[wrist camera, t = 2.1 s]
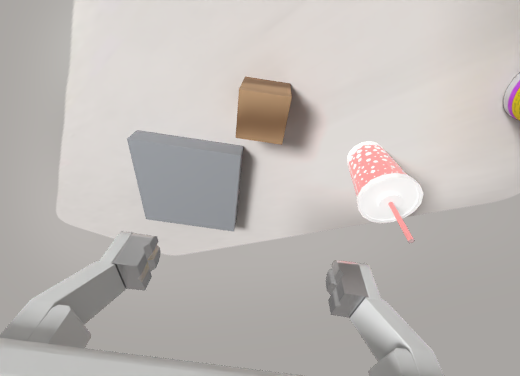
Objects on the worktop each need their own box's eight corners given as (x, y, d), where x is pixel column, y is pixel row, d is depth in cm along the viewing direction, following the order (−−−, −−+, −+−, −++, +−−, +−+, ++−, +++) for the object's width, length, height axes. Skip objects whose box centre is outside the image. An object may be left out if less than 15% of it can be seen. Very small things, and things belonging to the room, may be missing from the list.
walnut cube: (245, 76, 26) (239, 89, 22) (290, 83, 26) (291, 97, 22) (241, 119, 29) (235, 137, 25) (281, 125, 30) (282, 144, 26)
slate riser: (136, 130, 31) (127, 138, 29) (243, 146, 31) (240, 155, 29) (152, 208, 40) (146, 219, 38) (236, 220, 40) (233, 231, 38)
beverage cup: (382, 176, 33) (434, 264, 22) (337, 176, 33) (365, 261, 22) (396, 135, 29) (467, 215, 18) (345, 135, 30) (383, 214, 19)
